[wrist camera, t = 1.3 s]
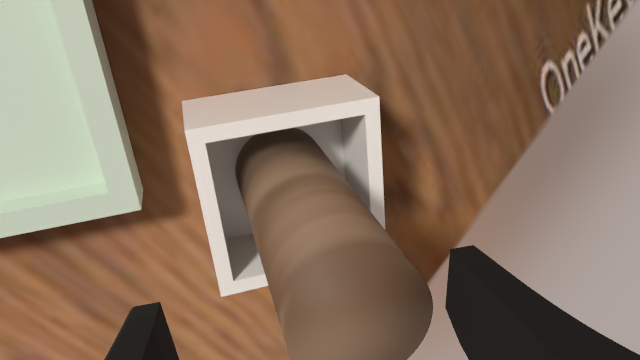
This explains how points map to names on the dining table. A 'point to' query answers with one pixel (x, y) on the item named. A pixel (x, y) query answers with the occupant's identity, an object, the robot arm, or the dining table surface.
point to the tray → (60, 120)
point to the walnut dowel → (328, 256)
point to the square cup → (265, 116)
